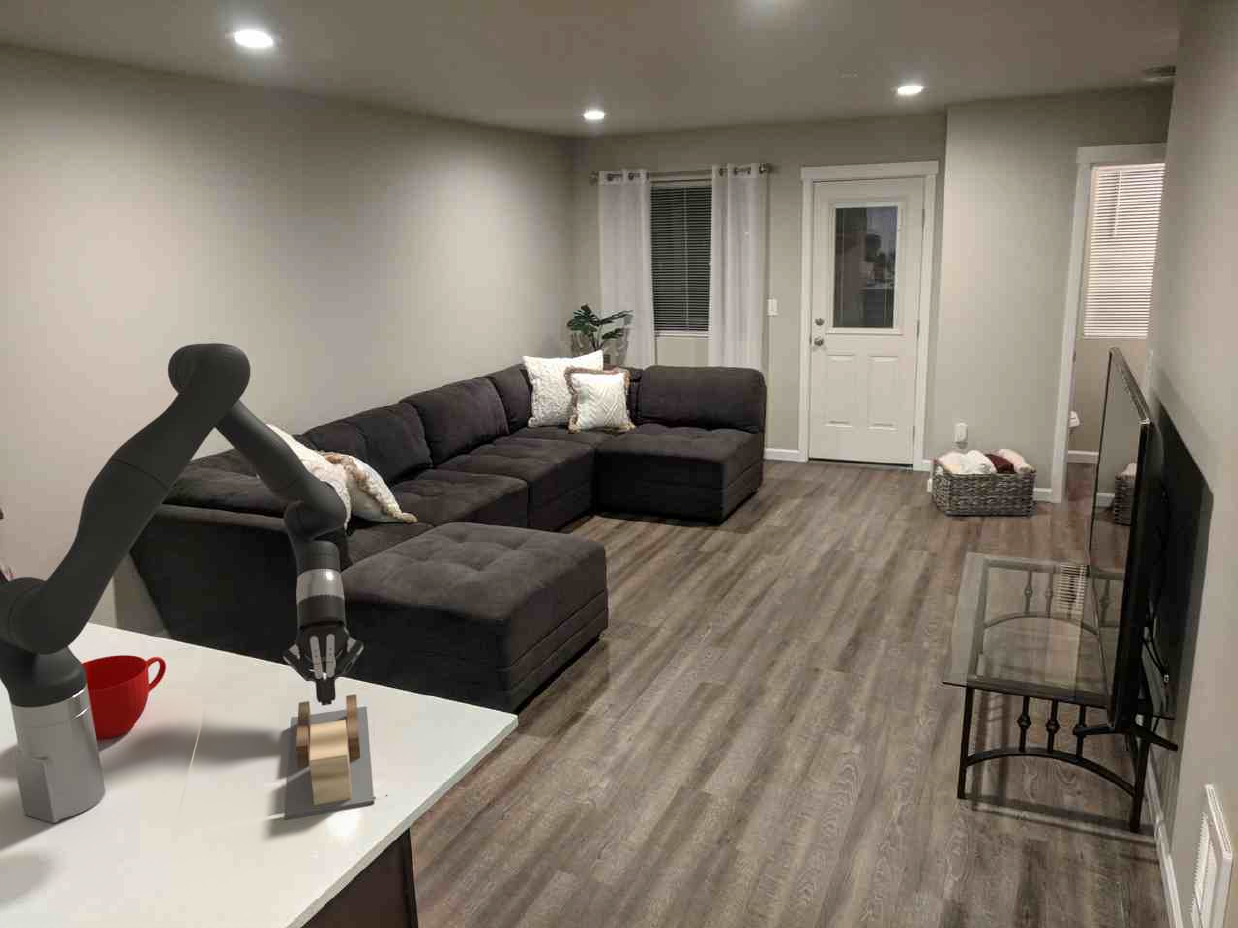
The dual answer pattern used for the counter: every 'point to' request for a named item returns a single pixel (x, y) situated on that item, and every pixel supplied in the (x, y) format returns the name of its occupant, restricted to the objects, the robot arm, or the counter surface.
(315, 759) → the oak block
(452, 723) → the counter surface
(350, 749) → the chute rails
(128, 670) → the ceramic cup
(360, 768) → the chute board
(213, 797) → the counter surface
